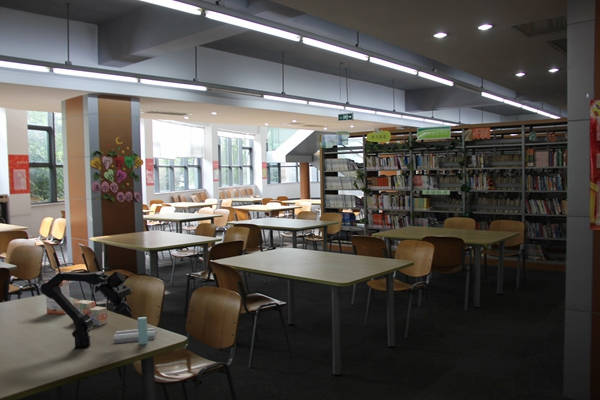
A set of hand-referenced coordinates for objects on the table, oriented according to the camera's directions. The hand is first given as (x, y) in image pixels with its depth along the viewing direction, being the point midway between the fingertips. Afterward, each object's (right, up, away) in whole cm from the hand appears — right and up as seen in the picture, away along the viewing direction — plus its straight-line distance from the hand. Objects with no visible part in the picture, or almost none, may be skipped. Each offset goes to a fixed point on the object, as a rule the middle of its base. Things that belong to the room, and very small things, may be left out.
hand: (131, 314), depth 251 cm
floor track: (0, -14, +7) cm, 16 cm away
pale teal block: (+7, -14, -2) cm, 16 cm away
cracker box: (-69, -14, +64) cm, 95 cm away
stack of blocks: (-38, -14, +39) cm, 56 cm away
